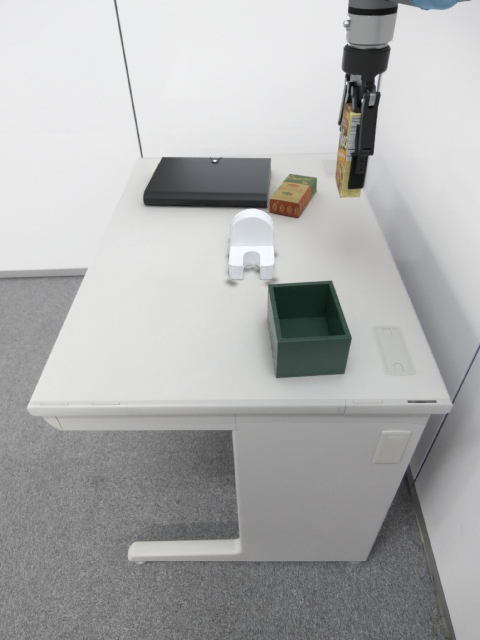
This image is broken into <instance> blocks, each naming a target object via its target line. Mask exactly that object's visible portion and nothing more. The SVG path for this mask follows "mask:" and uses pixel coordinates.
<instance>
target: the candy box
mask: <svg viewBox="0 0 480 640" xmlns="http://www.w3.org/2000/svg"><path fill="white" fill-rule="evenodd" d="M360 119H361V113H354V112H353V111H352V103H347V104H346V101H345V102H344V110H343V118H342V126H341V132H340V133H339V138H340V142H339V141H338V147H339V150H338V149H337V155H338V158H337V157H336V164H337V166H336V165H335V174H334V180H335V184H336V187H337V192H338V195H339V198H341V199H342V198H360V197H361V191H362V189H348V181H349V174H350V166H351V159H352V156H351V155H350V153H352V152H354V151H355V134H356V127H357V124H358V125H360Z"/></svg>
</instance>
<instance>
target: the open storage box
mask: <svg viewBox="0 0 480 640" xmlns="http://www.w3.org/2000/svg"><path fill="white" fill-rule="evenodd" d="M341 305H342V304H341V302H340V299H339V295H338V293H337V290H336V287H335V284H334V282H333V280H316V281H300V282H281V283H269V284H267V311H266V312H267V313H266V316H267V319H266V320H267V327H268V333H269V340H270V346H271V352H272V353H271V354H272V360H273V365H274V366H273V367H274V372H275V378H276V379H283V378H299V377H313V376H330V375H345V374H346V368H347V364H348V359H349V355H350V350H351V349H350V348H351V344H352V339H353V337H352V334H351V332H350V329H349V326H348V323H347V322H348V321H347V320H346V317H345V314H344V311H343V307H342V306H341Z"/></svg>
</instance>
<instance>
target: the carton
mask: <svg viewBox="0 0 480 640" xmlns="http://www.w3.org/2000/svg"><path fill="white" fill-rule="evenodd" d="M317 186H318V177H316V176H309V175H301V174H294V173H289V174H288V175H287V176H286V177H285V179H284V180H283V181H282V183H281V184H280V185H279V186H278V188H277V189H276V190H275V191H274V193H273V194H272V195H271V196H270V197H269V198H268V213H272V214H277V215H282V216H286V217H291V218H299V217H300V216H301V215H302V213H303V212H304V210H305V208H306V207H307V205H308V204H309V203H310V201H311V199H312V198H313V197H314V195H315V194H316V193H317V189H318V188H317Z"/></svg>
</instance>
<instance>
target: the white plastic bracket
mask: <svg viewBox="0 0 480 640" xmlns="http://www.w3.org/2000/svg"><path fill="white" fill-rule="evenodd" d="M228 256H229V257H228V273H229V274H228V275H229V278H230V279H231V280H244V274H245V273H244V272H245V267H247V266H250V265H253V266H257V267H258V268H259V280H272V279H274V278H275V225H274V222H273V219H272V218H271V216H270V215H269V214H268V213H266V212H265V211H264V210H261V209H259V208H247V209H243V210H241V211H239V212H238V213H236V214H235V216H233V218H232V220H231V223H230V229H229V255H228Z"/></svg>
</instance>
